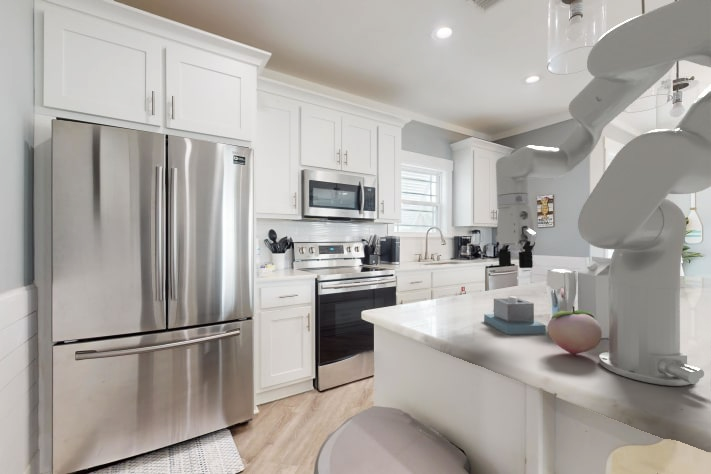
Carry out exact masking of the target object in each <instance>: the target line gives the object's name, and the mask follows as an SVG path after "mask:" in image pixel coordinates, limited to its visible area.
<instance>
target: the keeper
mask: <svg viewBox="0 0 711 474" xmlns="http://www.w3.org/2000/svg"><path fill="white" fill-rule="evenodd" d="M507 298H508V302H509V303H517V298H518V296H508V297H507ZM483 316H484V317H483V318H484V319H483V321H484V323H486V324H487V325H490V326H492V327H493V328H495V329H497V330H499V331H501V333H504V334H505V335H537V334H546V328H547V327H546V325H545V324H543V323H541V322H539V321H536V320H534V323H511V324H507V323H505V322H504V321H502V320H500V319H498V318H496V317H494V313H492V314H491V313H490V314H489V313H485V314H484V315H483Z"/></svg>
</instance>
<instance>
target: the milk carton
mask: <svg viewBox="0 0 711 474" xmlns="http://www.w3.org/2000/svg"><path fill="white" fill-rule="evenodd" d="M610 261H611V258H610V257H602V256H601V257H599V256H591V261H589V262H588V263H587V264H586V265H584V266H583V267H582V268H581V269H580V270H578V272H577V284H578V291H577V310H581V311H586V312H589V313H591V314H592V315H593V316H594V319H595V320H596V321H597V322H598V323H599V325H600V327H601V330H602V336H601V339H609V266H610ZM592 318H593V317H592Z"/></svg>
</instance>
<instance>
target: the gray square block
mask: <svg viewBox="0 0 711 474" xmlns="http://www.w3.org/2000/svg"><path fill="white" fill-rule="evenodd" d="M534 305H535V304H534V302H530V301H527V300H526V299H522V298H520V297H517V303H509V302H508V297H507V298H506V297H505V298H504V297H503V298H493V314H494V317H496V318H498V319H500V320H502V321H504V322H505V323H507V324H511V323H534V321H535V317H534V316H535V308H534V307H535V306H534Z"/></svg>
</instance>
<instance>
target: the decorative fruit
mask: <svg viewBox="0 0 711 474" xmlns="http://www.w3.org/2000/svg"><path fill="white" fill-rule="evenodd" d="M574 308H576V306H575V307H574V306H573V312H568V311H559V312H556V313H555V314H554V315H553V316H552V317H551V320H550V321H549V320H548V323H547V330H548V333H549V336H550V338H551V339H552V340H553V342H554V343H555V344H556V346H558V347H559V348H561V349H562V350H564V351H565V352H568V354H571V355H574V356H577V355H578V354H581V353H584V352H585V353H587V352H589V351H591V350H594V349H595V348H596V347H597V346H598V345H599V344H600V343H601V340H602V338H601V336H602V330H601V327H600V325H599V323H598V322H597V321H596V320H595V319H594V316H593V315H592V314H591V313H589V312H586V311H581V310H578V309H577V310H575V309H574ZM592 317H593V318H592Z"/></svg>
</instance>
